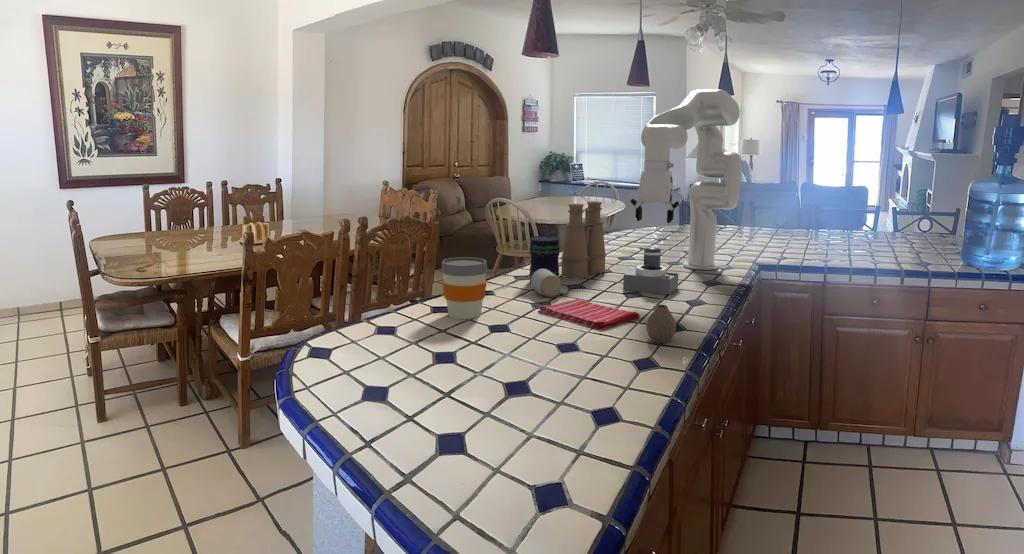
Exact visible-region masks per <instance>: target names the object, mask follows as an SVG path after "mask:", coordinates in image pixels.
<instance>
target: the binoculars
mask: <svg viewBox="0 0 1024 554" xmlns="http://www.w3.org/2000/svg"><path fill="white" fill-rule="evenodd" d="M586 204H587V207H585V209H584V206H585V205H584V203H569V204H568V207H569V209H568V210H567V212H568V213H569V215H568V217H569V218H568V219H569V221H568V223H566V225H565V227H566V230H565V236H564V240H563V241H564V243H563V249H562V255H561V257H560V260H561V275H562V276H565V277H570V278H569V279H573V278H578V279H585V278H584V277H586V278H588V275H589V274H588V273H593V274H592V275H597V274H596V273H600V274H604V273H606V257H607V255H608V254H607V253H606V247H605V235H604V227H603V225H604V222H603V220H601V211H602V210H603V208H602V207H601V205H602V204H603V201H595V200H593V201H591V200H589V201H587V202H586ZM584 212H585V213H584ZM583 213H584V223H583ZM603 272H604V273H603ZM561 275H560V276H561ZM562 276H561V277H562ZM565 277H564V278H565Z"/></svg>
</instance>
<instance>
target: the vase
mask: <svg viewBox="0 0 1024 554" xmlns="http://www.w3.org/2000/svg"><path fill="white" fill-rule="evenodd" d="M676 327H677V324H676V320H675V317H674V315H673V313H671V311H670V309H669V307H668V306H667V305H666V304H658V305H656V308H655V309H654V310H653V311H652V312H651V314H650V315H649V316H648V318H647V321H646V332H647V336H648V337H649V339H650V340H651V341H652V342H653V343H658V344H666V343H667V344H668V343H669V342H670V341H671V340H672V339H673V338H674V337H675V334H676V329H677V328H676Z"/></svg>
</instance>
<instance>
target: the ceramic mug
mask: <svg viewBox="0 0 1024 554" xmlns="http://www.w3.org/2000/svg"><path fill="white" fill-rule="evenodd" d="M530 286H531V288H532V289H533V290H534V291H535V292H537V293H538V294H539V295H541V296H544V297H545V298H553V297H555V296H557V295H558V294H559V293H560V294H563V295H567V293H568V289H567V288H565V287H563V286H562V282H561V280H560V277H559V278H558V277H557V276H556V275H555V274H553V273H552V272H550V271H549V270H547V269H539V270H537V271H535V272H534V274H533V275H532V277H531V283H530Z"/></svg>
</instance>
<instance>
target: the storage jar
mask: <svg viewBox="0 0 1024 554" xmlns="http://www.w3.org/2000/svg"><path fill="white" fill-rule="evenodd" d="M529 239H530V242H529V243H530V245H529V255H530V267H529V278H530V279H529V283H530V284H531V277H532V275H533V274H534V272H535V271H537V270H539V269H547V270H549V271H550V272H552V273H553V274H555V275H556V276H557V277H558V278H559V279H560V277H559V276H560V266H559V256H560V249H561V248H560V237H557V236H551V235H538V236H532V237H530V238H529Z"/></svg>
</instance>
